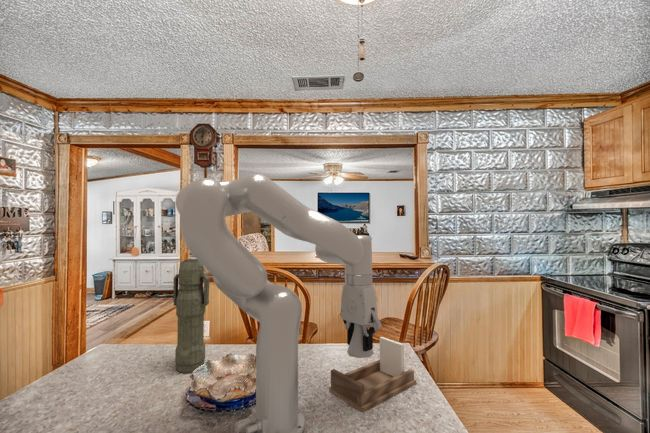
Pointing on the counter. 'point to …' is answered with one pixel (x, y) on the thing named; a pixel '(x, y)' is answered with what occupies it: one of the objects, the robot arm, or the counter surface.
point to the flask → (358, 344)
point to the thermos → (190, 315)
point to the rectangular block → (391, 357)
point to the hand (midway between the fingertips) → (359, 346)
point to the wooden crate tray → (369, 385)
